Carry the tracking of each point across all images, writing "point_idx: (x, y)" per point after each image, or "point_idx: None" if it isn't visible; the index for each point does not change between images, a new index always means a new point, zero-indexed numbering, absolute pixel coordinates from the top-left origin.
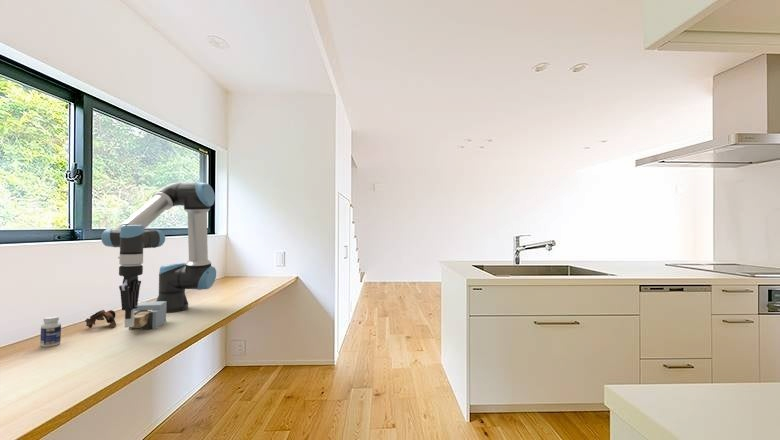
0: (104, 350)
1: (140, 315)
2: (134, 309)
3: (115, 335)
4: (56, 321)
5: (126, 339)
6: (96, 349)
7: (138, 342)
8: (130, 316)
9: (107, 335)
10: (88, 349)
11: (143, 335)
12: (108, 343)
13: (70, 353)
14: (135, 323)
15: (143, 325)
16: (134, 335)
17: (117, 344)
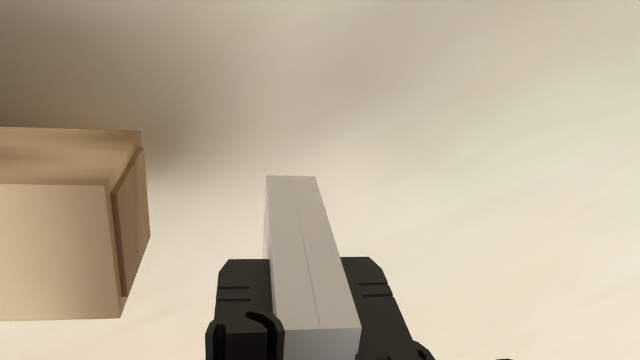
0: (584, 204)
1: None
2: (282, 324)
3: (176, 293)
4: None
5: (326, 164)
6: (535, 261)
7: (461, 23)
8: (352, 274)
9: (169, 344)
10: (513, 304)
11: (209, 56)
12: (408, 249)
13: (555, 354)
14: (138, 203)
15: (30, 128)
16: (197, 144)
17: (460, 177)
